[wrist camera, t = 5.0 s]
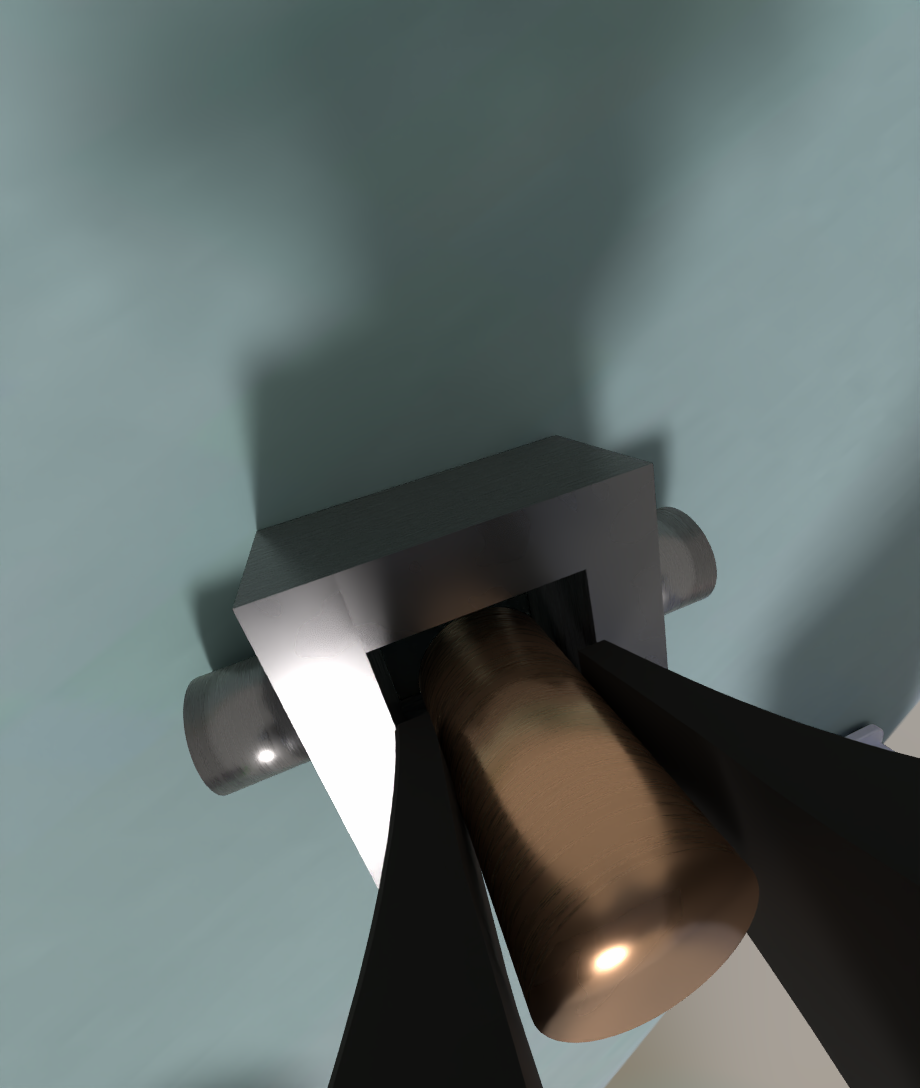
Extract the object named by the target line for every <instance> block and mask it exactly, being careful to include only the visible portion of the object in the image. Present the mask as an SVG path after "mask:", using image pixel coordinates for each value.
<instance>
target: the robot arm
mask: <svg viewBox="0 0 920 1088" xmlns="http://www.w3.org/2000/svg"><path fill="white" fill-rule="evenodd" d="M578 654H579V660H580V666H581V672H582V675H583V676H584V678H585V679H586V680H587V681H588V682H589V683H590V684H591V686H592V687H593V688H594V689H595V690H596V691H597V692H598V694H599V695H600V696H601V697H602V698H603V699H604V701H605V702H606V703H607V704H608V705H609V706H610V707H611V709H612V710H613V711H614V712H615V713H616V714H617V715H618V717H619V718H620V719H621V720H622V721H623V722H624V723H625V725H626V726H627V727H628V728H629V729H630V730H631V731H632V733H633V734H634V735H635V736H636V737H637V738H638V740H639V741H640V742H641V743H642V744H643V745H644V746H645V748H646V749H647V750H648V751H649V752H650V753H651V754H652V756H653V757H654V758H655V759H656V760H657V761H658V762H659V764H660V765H661V766H662V767H663V768H664V769H665V771H666V772H667V773H668V774H669V775H670V776H671V777H672V779H673V780H674V781H675V782H676V783H677V784H678V785H679V787H680V788H681V789H682V790H683V791H684V792H685V793H686V795H687V796H688V797H689V798H690V799H691V800H692V801H693V803H694V804H695V805H696V806H697V807H698V808H699V810H700V811H701V812H702V813H703V814H704V815H705V816H706V818H707V819H708V820H709V821H710V822H711V823H712V824H713V826H714V827H715V828H716V829H717V830H718V831H719V832H720V834H721V835H722V836H723V837H724V838H725V839H726V840H727V842H728V843H729V844H730V845H731V846H732V847H733V849H734V850H735V851H736V852H737V853H738V854H739V855H740V857H741V858H742V859H743V860H744V861H745V862H746V863H747V865H748V866H749V867H750V868H751V869H752V870H753V872H754V874H755V876H756V878H757V881H758V885H759V899H758V906H757V909H756V912H755V915H754V918H753V920H752V922H751V925H750V927H749V929H748V930H747V933H748V935H749V937H750V938H751V939H752V941H753V942H754V944H755V945H756V947H757V948H758V950H759V951H760V953H761V954H762V956H763V957H764V958H765V960H766V961H767V963H768V964H769V966H770V967H771V969H772V970H773V972H774V973H775V975H776V976H777V978H778V979H779V981H780V982H781V984H782V985H783V987H784V988H785V990H786V991H787V993H788V994H789V996H790V997H791V999H792V1000H793V1002H794V1003H795V1005H796V1006H797V1008H798V1009H799V1010H800V1012H801V1013H802V1015H803V1017H804V1018H805V1020H806V1021H807V1023H808V1024H809V1026H810V1027H811V1029H812V1030H813V1032H814V1033H815V1035H816V1036H817V1038H818V1039H819V1041H820V1043H821V1044H822V1046H823V1047H824V1049H825V1050H826V1052H827V1053H828V1055H829V1056H830V1058H831V1060H832V1061H833V1063H834V1064H835V1066H836V1067H837V1069H838V1070H839V1072H840V1074H841V1075H842V1077H843V1078H844V1080H845V1081H846V1083H847V1084H848V1086H849V1087H850V1088H920V758H916V757H912V756H909V755H904V754H901V753H897V752H895V751H893V750H892V749H890V748H889V747H887V746H886V745H884V744H883V743H882V740H883V735H884V734H883V730H882V729H881V728H879V727H878V726H876V725H875V724H870V725H867V726H865V727H863V728H861V729H859V730H857V731H855V732H853V733H851V734H849V735H847V736H845V737H842V736H839V735H836V734H833V733H830V732H827V731H824V730H821V729H817V728H814V727H811V726H808V725H805V724H802V723H799V722H796V721H793V720H791V719H788V718H785V717H782V716H779V715H777V714H774V713H771V712H769V711H766V710H763V709H761V708H758V707H756V706H753V705H750V704H748V703H745V702H743V701H740V700H737V699H735V698H733V697H730V696H728V695H725V694H723V693H720V692H718V691H716V690H713V689H711V688H708V687H706V686H704V685H701V684H699V683H697V682H695V681H692V680H690V679H688V678H686V677H683V676H681V675H679V674H677V673H675V672H672V671H670V670H668V669H666V668H664V667H662V666H659V665H657V664H655V663H653V662H651V661H649V660H647V659H645V658H642V657H640V656H638V655H636V654H634V653H632V652H630V651H628V650H626V649H623V648H621V647H619V646H617V645H615V644H613V643H611V642H608V641H606V640H602V641H600V642H597V643H595V644H592V645H590V646H587V647H585V648H583V649H580V650H578ZM328 1088H543V1087H542V1084H541V1080H540V1077H539V1074H538V1071H537V1068H536V1065H535V1062H534V1059H533V1056H532V1053H531V1050H530V1047H529V1044H528V1041H527V1038H526V1035H525V1032H524V1028H523V1025H522V1022H521V1019H520V1016H519V1013H518V1010H517V1007H516V1003H515V1000H514V996H513V993H512V989H511V986H510V982H509V979H508V975H507V971H506V967H505V964H504V960H503V956H502V952H501V948H500V944H499V940H498V936H497V932H496V928H495V924H494V920H493V916H492V912H491V908H490V904H489V900H488V896H487V892H486V888H485V884H484V880H483V876H482V872H481V868H480V865H479V862H478V859H477V856H476V853H475V850H474V847H473V844H472V842H471V839H470V836H469V833H468V830H467V827H466V824H465V821H464V818H463V815H462V812H461V809H460V806H459V802H458V799H457V795H456V792H455V788H454V785H453V781H452V778H451V775H450V772H449V769H448V766H447V763H446V760H445V757H444V755H443V752H442V749H441V746H440V743H439V740H438V737H437V734H436V732H435V729H434V726H433V723H432V720H431V717H430V715H429V712H427V713H425V714H422V715H420V716H417V717H415V718H412V719H410V720H408V721H405V722H403V723H400V724H398V726H397V728H396V729H395V774H394V787H393V797H392V806H391V814H390V823H389V831H388V838H387V845H386V850H385V856H384V862H383V867H382V873H381V879H380V884H379V890H378V896H377V901H376V905H375V910H374V915H373V920H372V924H371V929H370V933H369V938H368V942H367V946H366V950H365V954H364V958H363V962H362V967H361V971H360V975H359V979H358V983H357V986H356V990H355V994H354V997H353V1001H352V1005H351V1008H350V1012H349V1015H348V1019H347V1023H346V1026H345V1030H344V1034H343V1037H342V1041H341V1044H340V1048H339V1051H338V1055H337V1058H336V1061H335V1065H334V1068H333V1072H332V1075H331V1078H330V1082H329V1085H328Z"/></svg>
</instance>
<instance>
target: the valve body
mask: <svg viewBox="0 0 920 1088" xmlns="http://www.w3.org/2000/svg"><path fill="white" fill-rule="evenodd" d="M716 579H717V570H716V562H715V558H714V554H713V551H712V549H711V546H710V544H709V542H708V540H707V538H706V536H705V535H704V533H703V532H702V530H701V529H700V527H699V526H698V525H697V524H696V523H695V522H694V521H693V520H692V519H691V518H690V517H689V516H688V515H687V514H685V513H684V512H682V511H680V510H678V509H676V508H673V507H662V508H659V509H656V498H655V484H654V470H653V463H650V462H646V461H643V460H640V459H636V458H633V457H629V456H626V455H622V454H619V453H616V452H612V451H609V450H605V449H602V448H599V447H595V446H592V445H588V444H585V443H581V442H578V441H575V440H571V439H568V438H564V437H561V436H557V435H555V436H552V437H549V438H546V439H543V440H539V441H536V442H533V443H530V444H527V445H524V446H521V447H518V448H515V449H511V450H508V451H505V452H502V453H499V454H496V455H493V456H490V457H487V458H484V459H480V460H477V461H474V462H471V463H468V464H465V465H462V466H459V467H456V468H452V469H449V470H446V471H443V472H440V473H437V474H434V475H431V476H428V477H424V478H421V479H418V480H415V481H412V482H409V483H406V484H403V485H400V486H397V487H393V488H390V489H387V490H384V491H381V492H378V493H375V494H372V495H369V496H365V497H362V498H359V499H356V500H353V501H350V502H347V503H344V504H341V505H337V506H334V507H331V508H328V509H325V510H322V511H319V512H316V513H313V514H309V515H306V516H303V517H300V518H297V519H294V520H291V521H288V522H285V523H282V524H278V525H275V526H272V527H269V528H266V529H263V530H260V531H257V532H256V535H255V538H254V541H253V545H252V548H251V551H250V554H249V557H248V561H247V564H246V567H245V570H244V574H243V577H242V580H241V583H240V586H239V590H238V593H237V596H236V599H235V602H234V606H233V611H234V613H235V615H236V617H237V619H238V621H239V623H240V625H241V627H242V628H243V630H244V632H245V634H246V636H247V638H248V640H249V642H250V644H251V646H252V648H253V650H254V651H255V653H256V655H257V656H254V657H252V658H249V659H246V660H244V661H241V662H238V663H235V664H233V665H230V666H227V667H224V668H222V669H219V670H216V671H213V672H211V673H208V674H205V675H203V676H200V677H197V678H195V679H193V680H192V681H191V683H190V684H189V686H188V688H187V690H186V694H185V698H184V707H183V718H184V729H185V735H186V740H187V744H188V748H189V751H190V754H191V757H192V760H193V763H194V765H195V767H196V769H197V771H198V773H199V775H200V777H201V778H202V780H203V781H204V783H205V784H206V785H207V786H208V787H209V788H210V790H212V791H213V792H214V793H216V794H218V795H221V796H225V795H228V794H231V793H233V792H236V791H238V790H240V789H243V788H245V787H248V786H250V785H253V784H255V783H257V782H260V781H262V780H265V779H267V778H270V777H272V776H274V775H277V774H279V773H282V772H284V771H287V770H289V769H291V768H294V767H296V766H299V765H301V764H304V763H306V762H308V761H312V763H313V764H314V766H315V768H316V770H317V772H318V774H319V776H320V778H321V780H322V782H323V784H324V785H325V787H326V789H327V791H328V793H329V795H330V797H331V799H332V801H333V803H334V805H335V807H336V808H337V810H338V812H339V814H340V816H341V818H342V820H343V822H344V824H345V826H346V828H347V830H348V831H349V833H350V835H351V837H352V839H353V841H354V843H355V845H356V847H357V849H358V851H359V852H360V854H361V856H362V858H363V860H364V862H365V864H366V866H367V868H368V870H369V872H370V874H371V875H372V877H373V879H374V881H375V883H376V885H377V887H378V889H379V884H380V879H381V873H382V867H383V862H384V856H385V850H386V845H387V838H388V831H389V823H390V814H391V806H392V797H393V787H394V774H395V729H396V728H397V726H398V724H400V723H403V722H405V721H408V720H410V719H412V718H415V717H417V716H420V715H422V714H425V713H427V709H426V706H425V703H424V700H423V697H422V694H421V693H418V694H416V695H413V696H411V697H408V698H406V699H403V700H401V701H400V700H399V698H398V695H397V692H396V690H395V687H394V685H393V682H392V679H391V677H390V674H389V672H388V669H387V666H386V664H385V661H384V659H383V656H382V653H381V651H380V647H382V646H385V645H388V644H390V643H393V642H396V641H398V640H401V639H403V638H406V637H409V636H411V635H414V634H417V633H419V632H422V631H424V630H427V629H430V628H432V627H435V626H438V625H440V624H443V623H446V622H448V621H451V620H453V619H456V618H459V617H461V616H464V615H467V614H469V613H472V612H474V611H477V610H480V609H482V608H485V607H488V606H490V605H493V604H496V603H498V602H501V601H503V600H506V599H509V598H511V597H514V596H517V595H519V594H522V593H524V592H527V594H528V599H529V603H530V608H531V613H532V618H533V620H535V621H536V623H537V624H538V625H539V626H540V627H541V628H542V629H543V631H544V632H545V633H546V634H547V635H548V636H549V637H550V639H551V640H552V641H553V642H554V643H555V644H556V645H557V647H558V648H559V649H560V650H561V651H562V652H563V653H564V655H565V656H566V657H567V658H568V659H569V660H570V661H571V663H572V664H573V665H574V666H575V667H576V668H577V670H578V671H579V672H580V673H581V674H582V672H581V666H580V660H579V654H578V650H580V649H583V648H585V647H587V646H590V645H592V644H595V643H597V642H600V641H602V640H606V641H608V642H611V643H613V644H615V645H617V646H619V647H621V648H623V649H626V650H628V651H630V652H632V653H634V654H636V655H638V656H640V657H642V658H645V659H647V660H649V661H651V662H653V663H655V664H657V665H659V666H662V667H664V668H666V669H668V665H667V651H666V637H665V623H664V615H666V614H668V613H670V612H673V611H675V610H678V609H680V608H683V607H685V606H687V605H690V604H692V603H695V602H697V601H700V600H702V599H704V598H706V597H708V596H709V595H710V594H711V593H712V591H713V589H714V587H715V584H716Z"/></svg>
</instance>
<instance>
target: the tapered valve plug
mask: <svg viewBox="0 0 920 1088" xmlns="http://www.w3.org/2000/svg"><path fill="white" fill-rule="evenodd" d="M419 686H420V691H421V694H422V697H423V700H424V703H425V706H426V709H427V712H429V715H430V717H431V720H432V723H433V726H434V729H435V732H436V734H437V737H438V740H439V743H440V746H441V749H442V752H443V755H444V757H445V760H446V763H447V766H448V769H449V772H450V775H451V778H452V781H453V785H454V788H455V792H456V795H457V799H458V802H459V806H460V809H461V812H462V815H463V818H464V821H465V824H466V827H467V830H468V833H469V836H470V839H471V842H472V844H473V847H474V850H475V853H476V856H477V859H478V862H479V865H480V868H481V871H482V874H483V877H484V880H485V883H486V886H487V889H488V892H489V895H490V897H491V900H492V903H493V906H494V909H495V912H496V915H497V918H498V921H499V924H500V927H501V930H502V933H503V936H504V939H505V942H506V945H507V948H508V950H509V953H510V956H511V959H512V962H513V965H514V968H515V971H516V974H517V977H518V980H519V983H520V986H521V989H522V992H523V995H524V998H525V1001H526V1003H527V1006H528V1009H529V1012H530V1015H531V1018H532V1020H533V1022H534V1025H535V1026H536V1027H537V1029H538V1030H539V1031H540V1032H541V1033H543V1034H544V1035H546V1036H547V1037H549V1038H552V1039H554V1040H557V1041H562V1042H574V1043H579V1042H590V1041H595V1040H600V1039H605V1038H608V1037H611V1036H615V1035H618V1034H621V1033H623V1032H626V1031H629V1030H631V1029H633V1028H636V1027H638V1026H640V1025H642V1024H644V1023H646V1022H648V1021H650V1020H652V1019H654V1018H656V1017H657V1016H659V1015H661V1014H662V1013H664V1012H666V1011H667V1010H669V1009H670V1008H672V1007H673V1006H675V1005H676V1004H678V1003H679V1002H680V1001H682V1000H683V999H685V998H686V997H687V996H689V995H690V994H691V993H693V992H694V991H695V990H696V989H697V988H699V987H700V986H701V985H702V984H703V983H704V982H706V981H707V980H708V979H709V978H710V977H711V976H712V975H713V974H714V973H715V972H716V971H717V970H718V969H719V968H720V967H721V966H722V965H723V963H724V962H725V961H726V960H727V959H728V958H729V956H730V955H731V954H732V953H733V952H734V950H735V949H736V948H737V946H738V945H739V943H740V942H741V940H742V939H743V937H744V936H745V934H746V932H747V930H748V929H749V927H750V925H751V922H752V920H753V918H754V915H755V912H756V909H757V906H758V899H759V885H758V881H757V878H756V876H755V874H754V872H753V870H752V869H751V868H750V867H749V866H748V865H747V863H746V862H745V861H744V860H743V859H742V858H741V857H740V855H739V854H738V853H737V852H736V851H735V850H734V849H733V847H732V846H731V845H730V844H729V843H728V842H727V840H726V839H725V838H724V837H723V836H722V835H721V834H720V832H719V831H718V830H717V829H716V828H715V827H714V826H713V824H712V823H711V822H710V821H709V820H708V819H707V818H706V816H705V815H704V814H703V813H702V812H701V811H700V810H699V808H698V807H697V806H696V805H695V804H694V803H693V801H692V800H691V799H690V798H689V797H688V796H687V795H686V793H685V792H684V791H683V790H682V789H681V788H680V787H679V785H678V784H677V783H676V782H675V781H674V780H673V779H672V777H671V776H670V775H669V774H668V773H667V772H666V771H665V769H664V768H663V767H662V766H661V765H660V764H659V762H658V761H657V760H656V759H655V758H654V757H653V756H652V754H651V753H650V752H649V751H648V750H647V749H646V748H645V746H644V745H643V744H642V743H641V742H640V741H639V740H638V738H637V737H636V736H635V735H634V734H633V733H632V731H631V730H630V729H629V728H628V727H627V726H626V725H625V723H624V722H623V721H622V720H621V719H620V718H619V717H618V715H617V714H616V713H615V712H614V711H613V710H612V709H611V707H610V706H609V705H608V704H607V703H606V702H605V701H604V699H603V698H602V697H601V696H600V695H599V694H598V692H597V691H596V690H595V689H594V688H593V687H592V686H591V684H590V683H589V682H588V681H587V680H586V679H585V678H584V676H583V675H582V674H581V673H580V672H579V671H578V670H577V668H576V667H575V666H574V665H573V664H572V663H571V661H570V660H569V659H568V658H567V657H566V656H565V655H564V653H563V652H562V651H561V650H560V649H559V648H558V647H557V645H556V644H555V643H554V642H553V641H552V640H551V639H550V637H549V636H548V635H547V634H546V633H545V632H544V631H543V629H542V628H541V627H540V626H539V625H538V624H537V623H536V621H535V620H533V619H532V618H531V617H530V616H528V615H526V614H525V613H523V612H520V611H518V610H515V609H511V608H504V607H490V608H484V609H480V610H477V611H474V612H472V613H469V614H467V615H464V616H461V617H460V618H458V619H456V620H454V621H453V622H452V623H450V624H449V625H447V626H446V627H445V628H444V629H443V630H442V631H441V632H440V633H439V634H438V635H437V636H436V637H435V638H434V639H433V641H432V642H431V644H430V645H429V647H428V648H427V650H426V652H425V654H424V657H423V659H422V662H421V666H420V670H419Z"/></svg>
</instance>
